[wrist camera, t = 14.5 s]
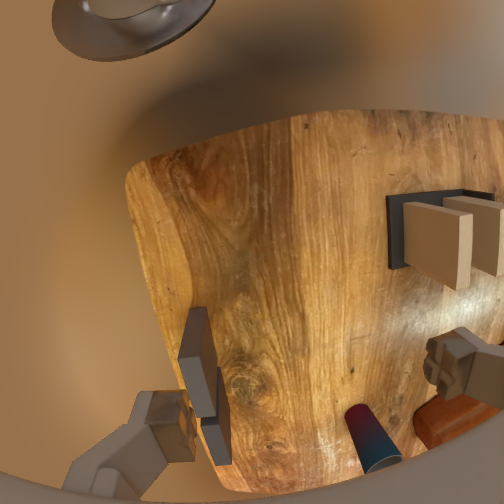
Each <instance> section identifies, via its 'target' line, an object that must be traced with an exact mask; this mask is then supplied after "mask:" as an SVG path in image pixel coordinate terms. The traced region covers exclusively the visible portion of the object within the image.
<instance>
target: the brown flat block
mask: <svg viewBox="0 0 504 504" xmlns="http://www.w3.org/2000/svg"><path fill="white" fill-rule="evenodd" d="M403 217H404V262H405V263H407V264H409V265H411V266H413V267H414V268H416V269H418V270H420V271H422V272H423V273H425V274H427V275H429V276H430V277H432V278H434V279H436V280H438V281H439V282H441V283H443V284H444V285H446V286H448V287H450V288H451V289H453V290H455V291H458V290H461V289H465V288H468V287H469V282H470V272H471V259H472V240H473V214H471V213H466V212H462V211H458V210H453V209H449V208H444V207H440V206H435V205H430V204H425V203H420V202H406V203H403Z"/></svg>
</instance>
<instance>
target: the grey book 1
mask: <svg viewBox="0 0 504 504" xmlns="http://www.w3.org/2000/svg"><path fill="white" fill-rule="evenodd" d="M178 362H179V366H180V369H181V372H182V375H183V378H184V382H185V385H186V388H187V391H188V394H189V397H190V400H191V403H192V406H193V409H194V412H195V414H196V417H197V418H202V417H213V416H216V397H217V355H216V351H215V346H214V342H213V337H212V333H211V328H210V324H209V319H208V314H207V310H206V307H200V308H192V309H189V313H188V317H187V321H186V325H185V329H184V333H183V338H182V342H181V346H180V350H179V355H178Z"/></svg>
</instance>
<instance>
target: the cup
mask: <svg viewBox="0 0 504 504" xmlns="http://www.w3.org/2000/svg"><path fill="white" fill-rule="evenodd" d="M345 421H346V423H347V426H348V429H349V431H350V434H351V437H352V440H353V443H354V445H355V448H356V451H357V454H358V456H359V459H360V462H361V465H362V468H363V471H364V473H365V475H366V474H369V473H372V472H375V471H378V470H380V469H383V468H386V467H389V466H392V465H394V464H397V463H400V462H402V461H404V458H403V456H402V454H401V453H400V452H399V450H398V449H397V447H396V446H395V444H394V443H393V442H392V440H391V439H390V437H389V436H388V434H387V433H386V432H385V430H384V429H383V427H382V426H381V424H380V423H379V422H378V420H377V419H376V417H375V416H374V414H373V413H372V412H371V410H370V409H369V407H368V406H367V405H365V404H358V405H355V406H353V407H351V408H350V409H349V410H348V411H347V412H346V414H345Z"/></svg>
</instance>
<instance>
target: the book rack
mask: <svg viewBox="0 0 504 504" xmlns="http://www.w3.org/2000/svg"><path fill="white" fill-rule="evenodd" d="M406 202H420V203H425V204H430V205H435V206H440V207H444V208H449V209H453V210H458V211H462V212H466V213H471V214H473V240H472V259H471V266H473V267H475V268H478V269H480V270H482V271H484V272H486V273H488V274H491V275H493V276H495V277H498V276H501V275H504V203H500V202H495V200H494V194H492V193H486V192H480V191H473V190H466V189H456V190H444V191H432V192H421V193H410V194H399V195H390V196H386V203H387V221H388V253H389V269H391V270H393V269H398V268H403V267H408V266H411V265H409V264H407V263H405V262H404V217H403V203H406Z"/></svg>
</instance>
